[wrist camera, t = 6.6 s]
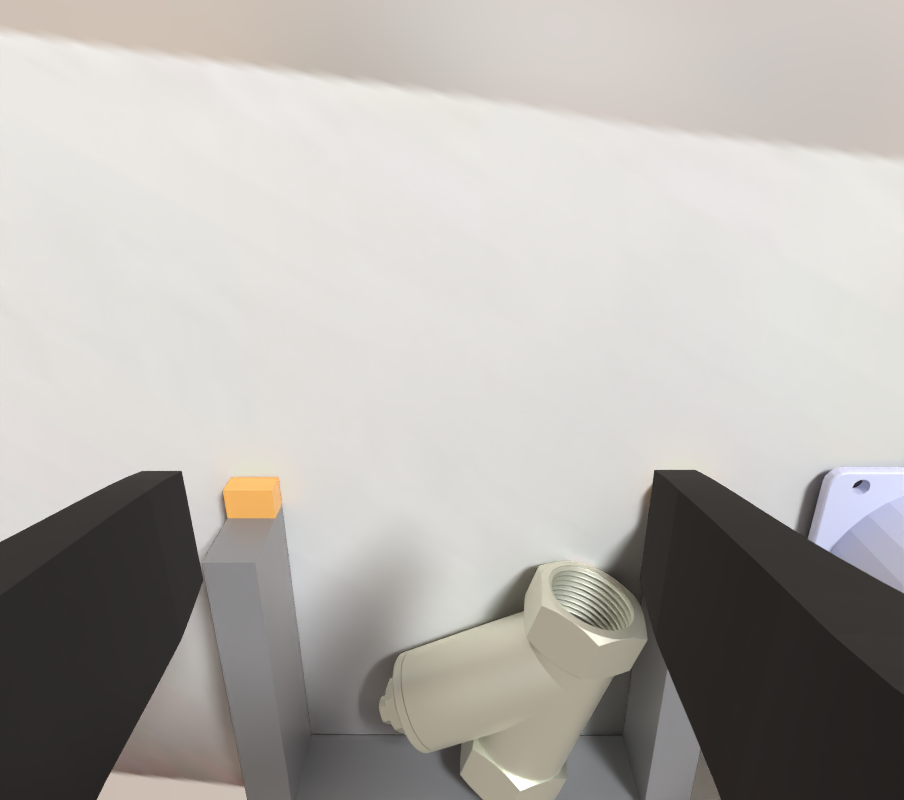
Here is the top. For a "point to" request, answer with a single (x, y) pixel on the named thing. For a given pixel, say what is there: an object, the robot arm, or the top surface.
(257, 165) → the top surface
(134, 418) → the top surface
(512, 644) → the pipe fitting
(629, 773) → the bracket
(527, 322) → the top surface
